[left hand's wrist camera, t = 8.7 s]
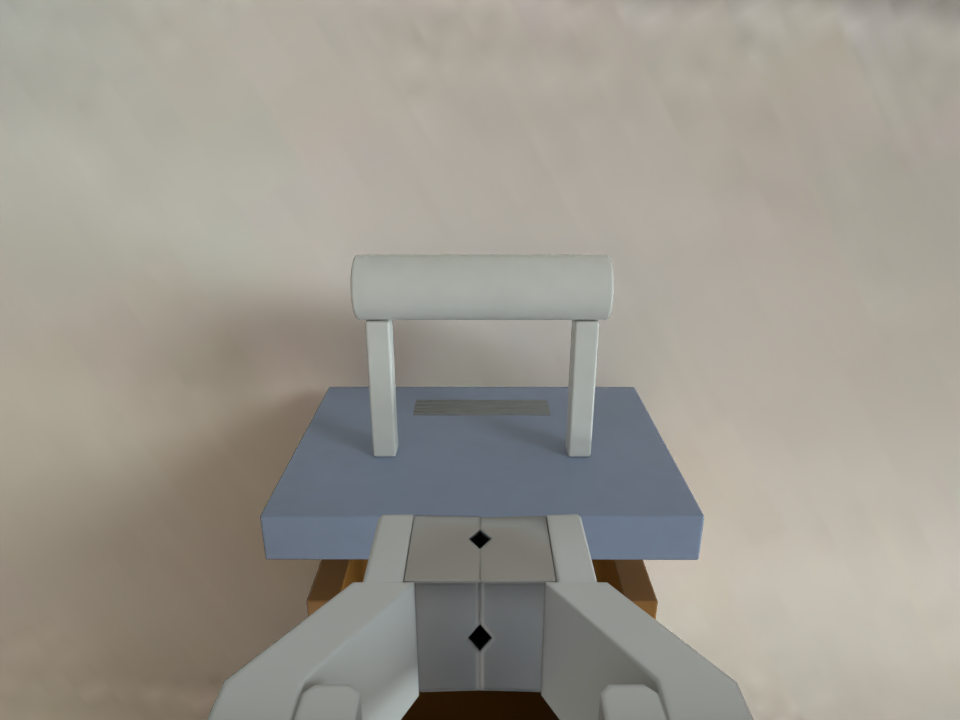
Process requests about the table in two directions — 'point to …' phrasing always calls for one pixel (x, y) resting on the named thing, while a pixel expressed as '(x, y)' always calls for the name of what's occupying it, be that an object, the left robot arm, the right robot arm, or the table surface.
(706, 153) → the table surface
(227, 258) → the table surface
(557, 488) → the drawer
